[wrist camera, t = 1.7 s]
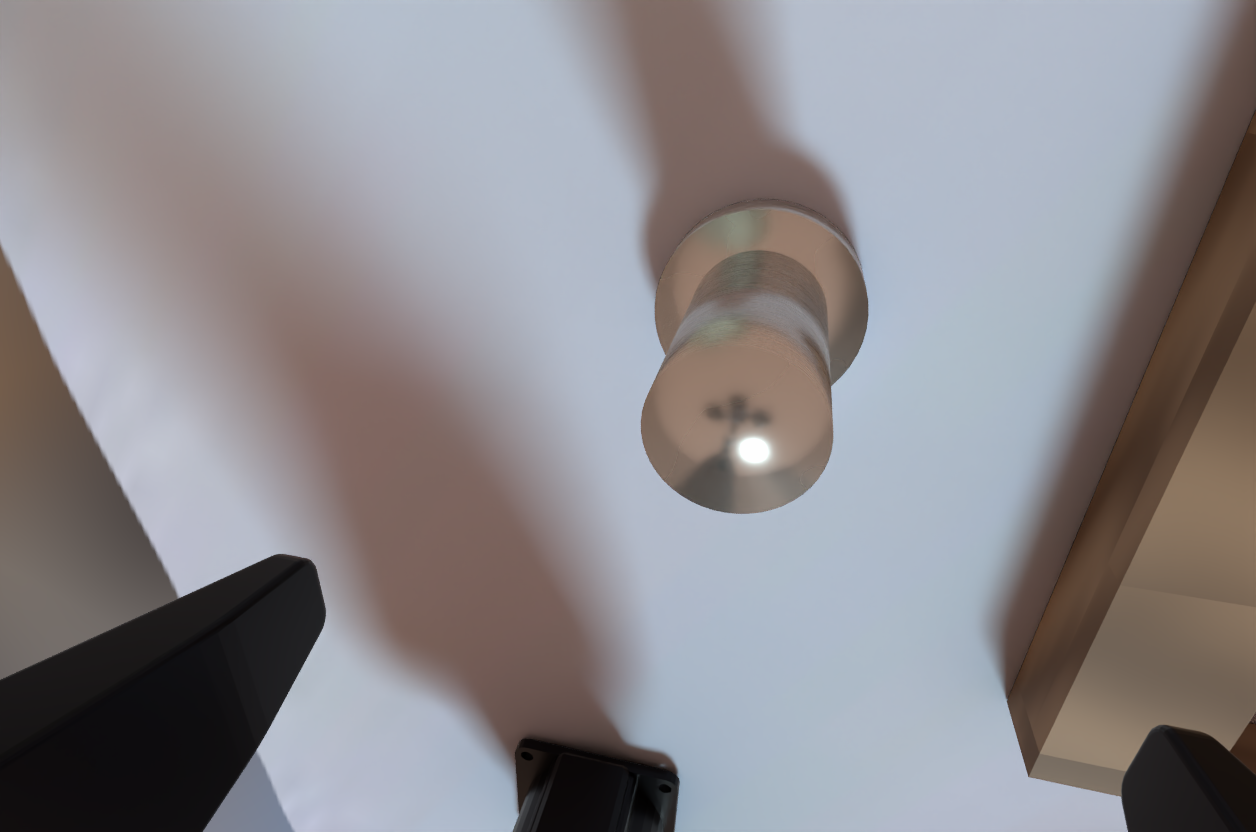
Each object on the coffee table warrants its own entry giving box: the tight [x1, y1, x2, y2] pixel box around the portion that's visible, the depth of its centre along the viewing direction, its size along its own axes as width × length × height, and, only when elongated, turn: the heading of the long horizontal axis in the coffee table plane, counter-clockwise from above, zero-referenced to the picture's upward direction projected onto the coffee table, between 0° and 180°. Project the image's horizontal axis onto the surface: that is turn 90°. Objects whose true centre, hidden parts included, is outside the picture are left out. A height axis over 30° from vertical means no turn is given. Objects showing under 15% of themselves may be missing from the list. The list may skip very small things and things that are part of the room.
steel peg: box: [641, 199, 868, 514], centre depth 15 cm, size 5×5×7 cm
